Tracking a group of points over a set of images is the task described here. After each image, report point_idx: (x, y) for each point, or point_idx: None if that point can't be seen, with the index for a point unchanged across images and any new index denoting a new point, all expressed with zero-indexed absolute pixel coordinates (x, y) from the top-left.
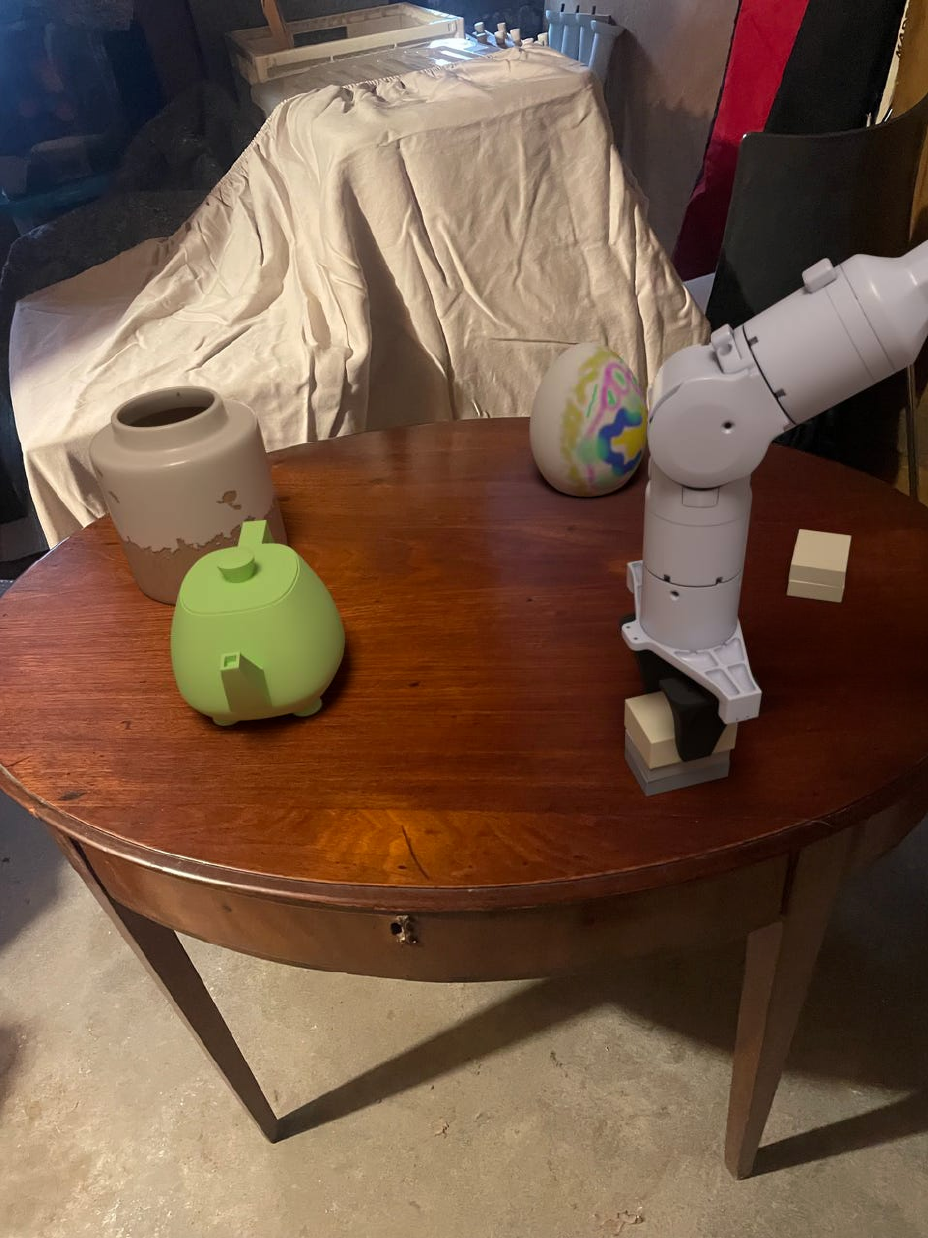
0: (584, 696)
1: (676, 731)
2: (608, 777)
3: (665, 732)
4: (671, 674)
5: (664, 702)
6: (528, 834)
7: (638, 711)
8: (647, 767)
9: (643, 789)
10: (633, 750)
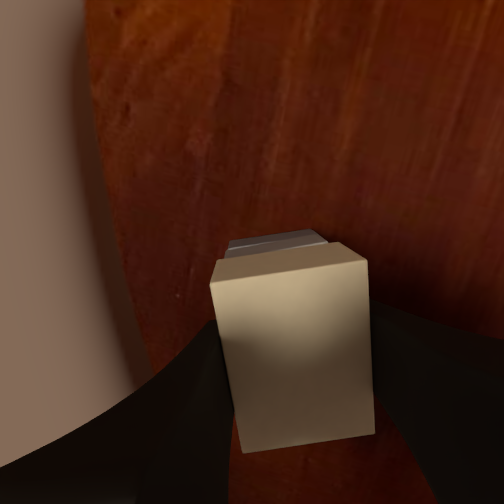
0: (464, 196)
1: (199, 353)
2: (278, 195)
3: (236, 321)
4: (397, 391)
5: (332, 341)
6: (178, 30)
7: (318, 280)
8: (230, 257)
9: (238, 240)
10: (285, 243)
